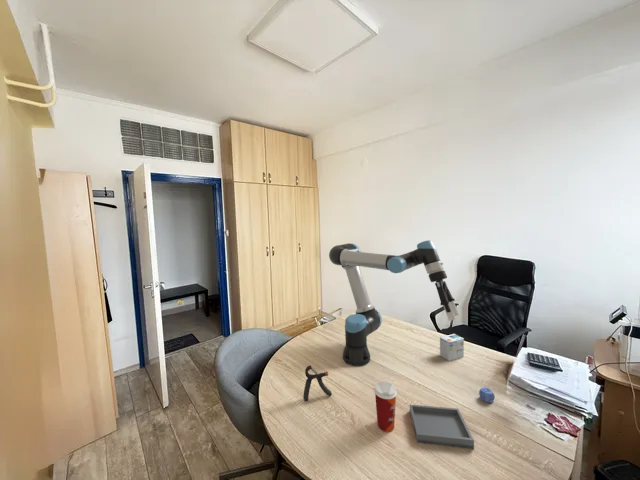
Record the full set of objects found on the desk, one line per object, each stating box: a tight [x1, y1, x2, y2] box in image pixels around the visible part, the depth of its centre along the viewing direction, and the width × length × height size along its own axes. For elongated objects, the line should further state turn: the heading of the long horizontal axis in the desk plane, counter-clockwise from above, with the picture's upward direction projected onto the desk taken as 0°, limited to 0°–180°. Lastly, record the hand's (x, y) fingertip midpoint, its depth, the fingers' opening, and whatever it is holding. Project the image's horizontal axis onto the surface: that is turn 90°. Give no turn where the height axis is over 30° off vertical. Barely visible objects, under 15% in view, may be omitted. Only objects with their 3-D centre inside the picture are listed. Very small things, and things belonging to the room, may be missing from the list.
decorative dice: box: [478, 386, 496, 403], centre depth 105 cm, size 4×4×4 cm
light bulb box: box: [439, 333, 465, 362], centre depth 138 cm, size 11×7×11 cm, turn 108°
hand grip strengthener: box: [303, 365, 333, 402], centre depth 109 cm, size 2×12×15 cm, turn 99°
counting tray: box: [409, 404, 475, 450], centre depth 92 cm, size 18×14×3 cm
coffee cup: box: [373, 381, 398, 433], centre depth 93 cm, size 8×8×15 cm
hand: (454, 317), depth 112 cm, fingers open, 13 cm apart
